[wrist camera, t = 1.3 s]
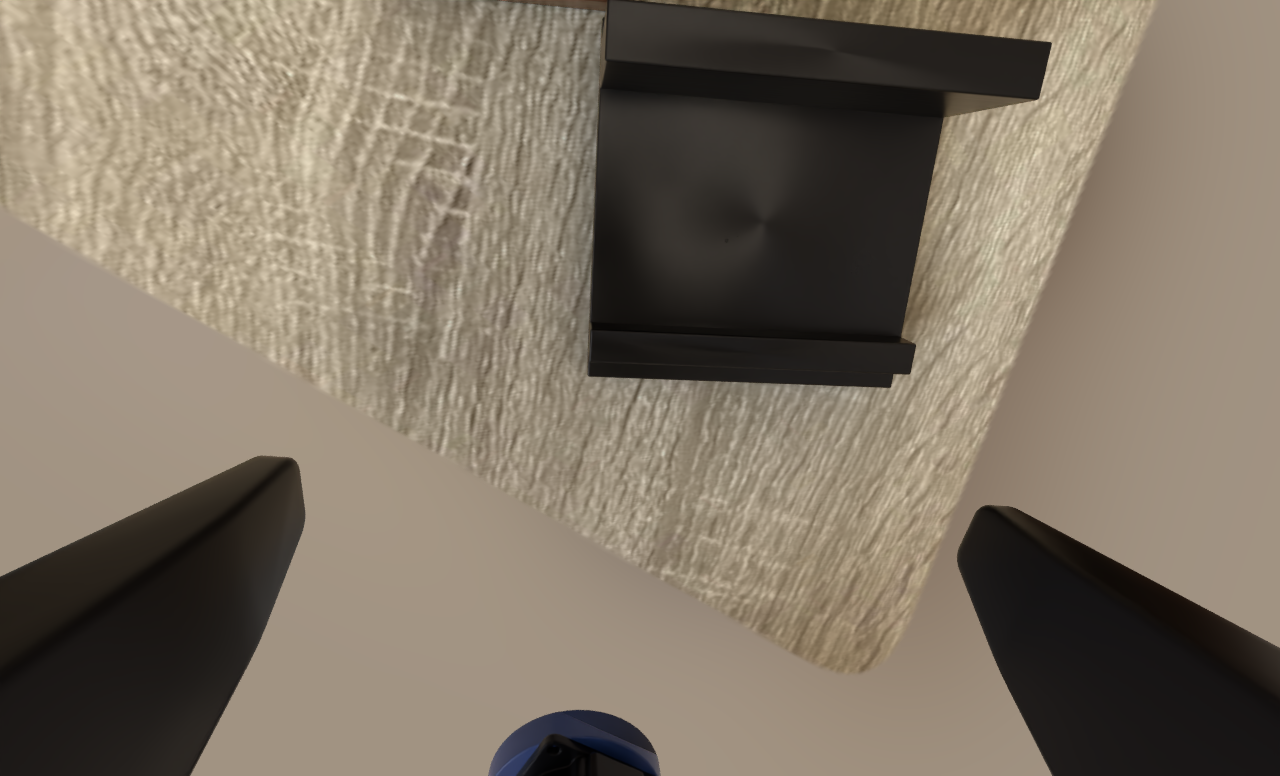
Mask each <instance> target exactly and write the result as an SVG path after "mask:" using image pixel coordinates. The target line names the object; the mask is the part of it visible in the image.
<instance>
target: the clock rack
mask: <svg viewBox="0 0 1280 776" xmlns="http://www.w3.org/2000/svg"><path fill="white" fill-rule="evenodd" d="M1051 45H1052V43H1051V42H1044V41H1034V40H1024V39H1014V38H1004V37H994V36H984V35H975V34H965V33H955V32H945V31H935V30H925V29H915V28H905V27H895V26H885V25H875V24H865V23H855V22H845V21H835V20H825V19H815V18H805V17H795V16H785V15H775V14H765V13H755V12H745V11H735V10H725V9H715V8H705V7H695V6H686V5H676V4H666V3H656V2H646V1H636V0H607V5H606V13H605V17H603V19H602V27H601V50H600V74H599V98H598V122H597V146H596V170H595V194H594V218H593V241H592V265H591V289H590V313H589V337H588V361H587V375H588V376H589V377H615V378H642V379H668V380H695V381H721V382H748V383H774V384H801V385H828V386H854V387H881V388H890V387H891V384H892V379H893V374H906V375H908V374H910V373H911V368H912V363H913V358H914V353H915V348H916V344H914V343H912V342H910V341H908V340H906V339H904V338H902V337H901V333H902V328H903V323H904V318H905V313H906V307H907V302H908V297H909V292H910V287H911V282H912V277H913V272H914V267H915V261H916V256H917V251H918V246H919V241H920V236H921V231H922V226H923V220H924V215H925V210H926V205H927V200H928V195H929V190H930V185H931V180H932V174H933V169H934V164H935V159H936V154H937V149H938V144H939V139H940V133H941V128H942V123H943V118H944V117H950V116H955V115H960V114H965V113H971V112H976V111H981V110H987V109H992V108H997V107H1002V106H1008V105H1013V104H1018V103H1024V102H1029V101H1034V100H1038V99H1039V96H1040V92H1041V88H1042V84H1043V79H1044V75H1045V71H1046V67H1047V62H1048V58H1049V54H1050V50H1051Z"/></svg>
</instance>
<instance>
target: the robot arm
mask: <svg viewBox="0 0 1280 776" xmlns="http://www.w3.org/2000/svg"><path fill="white" fill-rule="evenodd" d="M304 522H305V507H304V499H303V491H302V484H301V476H300V470H299V466H298V464H297V462H296V461H295V460H294V459H292V458H289V457H275V456H274V457H273V456H257V457H254V458H252V459H250V460H248V461H246V462H244V463H241V464H239V465H237V466H235V467H233V468H231V469H229V470H226V471H224V472H222V473H220V474H218V475H216V476H214V477H212V478H210V479H208V480H205V481H203V482H201V483H199V484H197V485H195V486H192V487H190V488H188V489H186V490H184V491H182V492H180V493H177V494H175V495H173V496H171V497H169V498H167V499H165V500H163V501H160V502H158V503H156V504H154V505H152V506H150V507H148V508H146V509H143V510H141V511H139V512H137V513H135V514H133V515H131V516H128V517H126V518H124V519H122V520H120V521H118V522H116V523H114V524H112V525H109V526H107V527H105V528H103V529H101V530H99V531H97V532H94V533H92V534H90V535H88V536H86V537H84V538H82V539H80V540H77V541H75V542H73V543H71V544H69V545H67V546H65V547H62V548H60V549H58V550H56V551H54V552H52V553H50V554H48V555H45V556H43V557H41V558H39V559H37V560H35V561H33V562H30V563H28V564H26V565H24V566H22V567H20V568H18V569H16V570H14V571H11V572H9V573H7V574H5V575H3V576H1V577H0V776H190V775H191V773H192V771H193V769H194V768H195V766H196V764H197V762H198V760H199V758H200V756H201V754H202V752H203V750H204V748H205V746H206V745H207V743H208V741H209V739H210V737H211V735H212V733H213V731H214V729H215V727H216V726H217V724H218V722H219V720H220V718H221V716H222V714H223V712H224V710H225V708H226V706H227V705H228V703H229V701H230V698H231V697H232V695H233V693H234V691H235V689H236V687H237V685H238V683H239V682H240V680H241V678H242V676H243V674H244V672H245V670H246V668H247V666H248V664H249V662H250V660H251V658H252V656H253V654H254V652H255V650H256V648H257V646H258V644H259V641H260V639H261V637H262V634H263V632H264V629H265V627H266V625H267V622H268V619H269V617H270V614H271V612H272V609H273V607H274V604H275V601H276V599H277V596H278V593H279V591H280V588H281V586H282V583H283V581H284V578H285V576H286V573H287V570H288V568H289V565H290V563H291V560H292V557H293V555H294V552H295V550H296V547H297V545H298V542H299V539H300V537H301V534H302V531H303V528H304ZM957 562H958V567H959V570H960V573H961V575H962V578H963V580H964V583H965V586H966V588H967V591H968V593H969V595H970V598H971V601H972V603H973V606H974V608H975V611H976V613H977V616H978V618H979V621H980V623H981V626H982V628H983V631H984V634H985V636H986V639H987V641H988V644H989V646H990V649H991V651H992V654H993V656H994V659H995V661H996V663H997V666H998V668H999V670H1000V672H1001V674H1002V677H1003V679H1004V680H1005V683H1006V684H1007V687H1008V689H1009V691H1010V693H1011V695H1012V697H1013V699H1014V701H1015V703H1016V705H1017V706H1018V709H1019V711H1020V713H1021V715H1022V717H1023V718H1024V720H1025V722H1026V725H1027V726H1028V728H1029V730H1030V732H1031V734H1032V736H1033V738H1034V740H1035V742H1036V744H1037V746H1038V748H1039V750H1040V752H1041V754H1042V756H1043V758H1044V760H1045V762H1046V764H1047V766H1048V768H1049V770H1050V772H1051V774H1052V776H1280V648H1279V647H1277V646H1275V645H1273V644H1271V643H1269V642H1268V641H1265V640H1264V639H1262V638H1260V637H1258V636H1256V635H1254V634H1252V633H1251V632H1248V631H1247V630H1245V629H1243V628H1241V627H1239V626H1237V625H1235V624H1234V623H1232V622H1230V621H1228V620H1226V619H1224V618H1222V617H1220V616H1218V615H1216V614H1215V613H1213V612H1211V611H1209V610H1207V609H1205V608H1203V607H1201V606H1200V605H1198V604H1196V603H1194V602H1192V601H1190V600H1188V599H1186V598H1184V597H1183V596H1181V595H1179V594H1177V593H1175V592H1173V591H1171V590H1169V589H1167V588H1165V587H1164V586H1162V585H1160V584H1158V583H1156V582H1154V581H1152V580H1150V579H1148V578H1147V577H1145V576H1142V575H1141V574H1139V573H1137V572H1135V571H1133V570H1131V569H1129V568H1128V567H1126V566H1124V565H1122V564H1120V563H1118V562H1116V561H1114V560H1113V559H1111V558H1109V557H1107V556H1105V555H1103V554H1101V553H1099V552H1097V551H1095V550H1094V549H1092V548H1090V547H1088V546H1086V545H1084V544H1082V543H1080V542H1079V541H1077V540H1075V539H1073V538H1071V537H1069V536H1067V535H1065V534H1063V533H1062V532H1060V531H1058V530H1056V529H1054V528H1052V527H1050V526H1048V525H1046V524H1045V523H1043V522H1041V521H1039V520H1037V519H1035V518H1033V517H1031V516H1029V515H1028V514H1025V513H1024V512H1022V511H1020V510H1018V509H1016V508H1013V507H1009V506H994V505H986V506H983V507H981V508H980V509H979V510H977V512H976V513H975V515H974V517H973V519H972V521H971V524H970V526H969V528H968V530H967V532H966V534H965V536H964V538H963V541H962V543H961V545H960V547H959V549H958V554H957ZM551 746H557V747H551ZM516 776H654V775H652V774H650V773H648V772H645V771H643V770H641V769H638V768H636V767H634V766H631V765H629V764H627V763H625V762H622V761H620V760H618V759H615V758H613V757H611V756H609V755H606V754H604V753H602V752H599V751H597V750H595V749H592V748H590V747H588V746H586V745H583V744H581V743H579V742H576V741H574V740H572V739H570V738H567V737H565V736H563V735H560V734H550V735H547V736H546V737H545V738H544V739H543V741H542V742H541V743H540V745H539V746H538V747H537V749H536V750H535V751H534V753H533V754H532V755H531V756H530V758H529V759H528V760H527V762H526V763H525V764H524V766H523V767H522V768H521V770H520V771H519V772H518V774H517V775H516Z"/></svg>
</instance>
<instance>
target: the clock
mask: <svg viewBox="0 0 1280 776" xmlns="http://www.w3.org/2000/svg"><path fill="white" fill-rule="evenodd" d="M499 1H509V2H520V3H530V4H540V5H550V6H560V7H571V8H581V9H591V10H601V11H606V5H607V0H499Z"/></svg>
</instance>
